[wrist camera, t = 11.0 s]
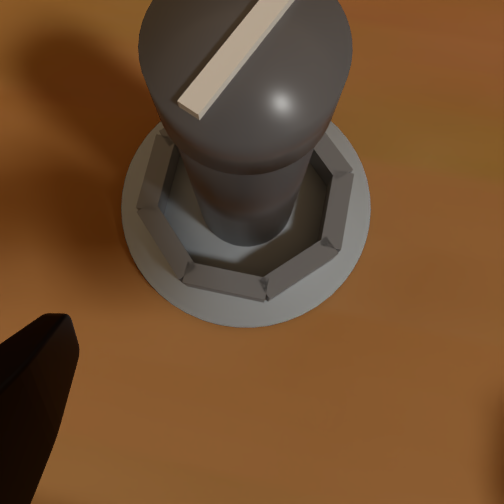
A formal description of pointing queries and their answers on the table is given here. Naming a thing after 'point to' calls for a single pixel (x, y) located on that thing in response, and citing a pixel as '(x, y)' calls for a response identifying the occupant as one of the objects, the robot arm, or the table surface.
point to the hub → (245, 258)
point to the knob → (245, 100)
